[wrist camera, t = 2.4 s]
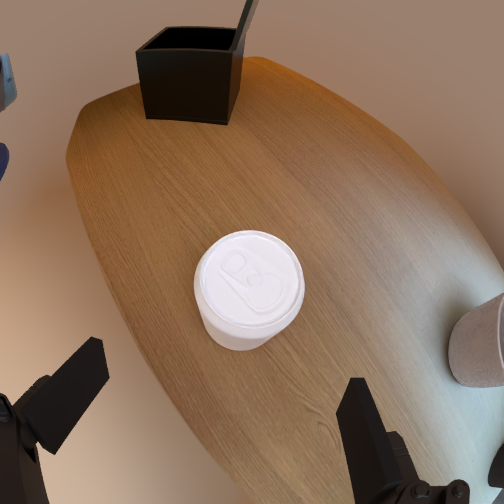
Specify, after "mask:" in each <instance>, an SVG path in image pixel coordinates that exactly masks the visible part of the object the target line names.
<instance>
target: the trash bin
mask: <svg viewBox="0 0 504 504" xmlns="http://www.w3.org/2000/svg"><path fill="white" fill-rule="evenodd" d="M236 30H237V29H236V28H224V27H201V26H180V27H178V26H177V27H166V28H164V29H163V30H161V31H160V32H159V33H158V34H156V35H155V36H154V37H152V38H151V39H150V40H149V41H148V42H146V43H145V44H144V45H143V46H142V47H140V48H139V49H138V50H137V51H136V52H135V53H136V60H137V67H138V73H139V80H140V87H141V93H142V98H143V104H144V110H145V115H146V119H163V120H179V121H191V122H202V123H211V124H220V125H228V122H229V119H230V116H231V113H232V110H233V107H234V104H235V101H236V98H237V95H238V92H239V90H240V80H241V71H242V62H243V53H244V45H245V36H246V34H245V35H244V37H243V39H242V41H241V42H240V44H239V46H238V48H237V50H236V51H235V50H231V46H232V42H233V39H234V36H235V33H236Z"/></svg>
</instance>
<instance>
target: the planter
mask: <svg viewBox="0 0 504 504" xmlns="http://www.w3.org/2000/svg"><path fill="white" fill-rule="evenodd" d="M448 357H449V364H450V368H451V371H452V373H453V375H454V377H455V378H456V380H457V381H458V382H459V383H461V384H462V385H464V386H467V387H472V388H486V387H497V386H504V293H502V294H500V295H499V296H497V297H495V298H493V299H491V300H489V301H487V302H486V303H484V304H482V305H480V306H478V307H476V308H475V309H473V310H471V311H470V312H468V313H467V314H465V315H464V316H463V317H462V318H460V319H459V321H458V322H457V323H456V325H455V326H454V328H453V330H452V333H451V336H450V340H449V348H448Z"/></svg>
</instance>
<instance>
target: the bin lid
mask: <svg viewBox="0 0 504 504" xmlns="http://www.w3.org/2000/svg"><path fill="white" fill-rule="evenodd" d="M258 1H259V0H247V1H246V3H245V6H244V9H243V12H242V15H241V18H240V21H239V24H238V27H237V30H236V33H235V36H234V39H233V42H232V46H231V50H235V51H236V50H237V48H238V46H239V44H240V42H241V41H242V39H243V37H244V35H245V34H246V32H247V30H248V28H249V26H250V23H251V21H252V18H253V15H254V12H255V10H256V7H257V5H258Z"/></svg>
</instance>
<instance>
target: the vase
mask: <svg viewBox="0 0 504 504" xmlns="http://www.w3.org/2000/svg"><path fill="white" fill-rule="evenodd" d="M488 483H489V486H491V487H498V488H504V444H503V445H502V447H501V448H500V449H499V451H498V453H497V454H496V456H495V458H494V460H493V463H492V465H491V468H490V472H489V476H488Z"/></svg>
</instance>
